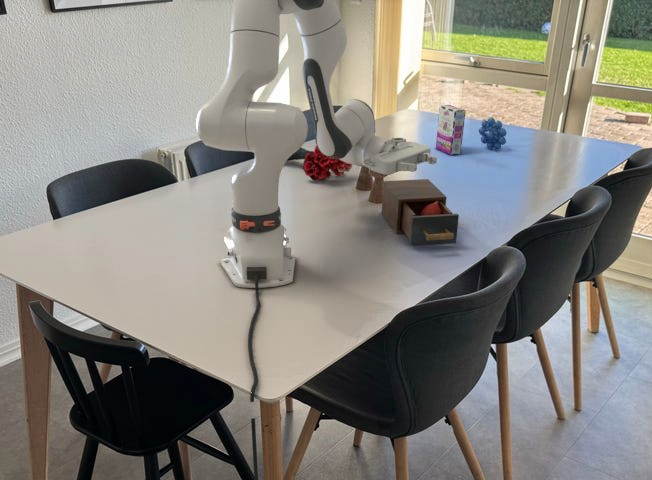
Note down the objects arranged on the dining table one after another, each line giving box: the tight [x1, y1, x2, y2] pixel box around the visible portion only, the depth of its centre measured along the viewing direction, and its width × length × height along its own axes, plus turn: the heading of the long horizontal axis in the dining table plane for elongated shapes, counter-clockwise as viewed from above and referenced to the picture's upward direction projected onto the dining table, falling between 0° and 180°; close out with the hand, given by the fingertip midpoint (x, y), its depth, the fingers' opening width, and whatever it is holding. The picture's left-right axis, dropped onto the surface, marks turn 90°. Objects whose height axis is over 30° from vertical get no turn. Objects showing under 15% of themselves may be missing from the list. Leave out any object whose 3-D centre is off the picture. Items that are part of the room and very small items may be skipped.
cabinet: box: [381, 178, 447, 234], centre depth 202 cm, size 17×14×10 cm
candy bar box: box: [435, 104, 466, 156], centre depth 266 cm, size 11×5×16 cm, turn 25°
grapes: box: [478, 116, 507, 151], centre depth 270 cm, size 12×7×12 cm, turn 55°
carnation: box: [286, 144, 353, 181], centre depth 241 cm, size 16×18×35 cm
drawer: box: [400, 200, 460, 247], centre depth 189 cm, size 21×13×8 cm, turn 11°
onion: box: [420, 201, 442, 216], centre depth 192 cm, size 6×6×8 cm
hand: (425, 164), depth 183 cm, fingers open, 8 cm apart
